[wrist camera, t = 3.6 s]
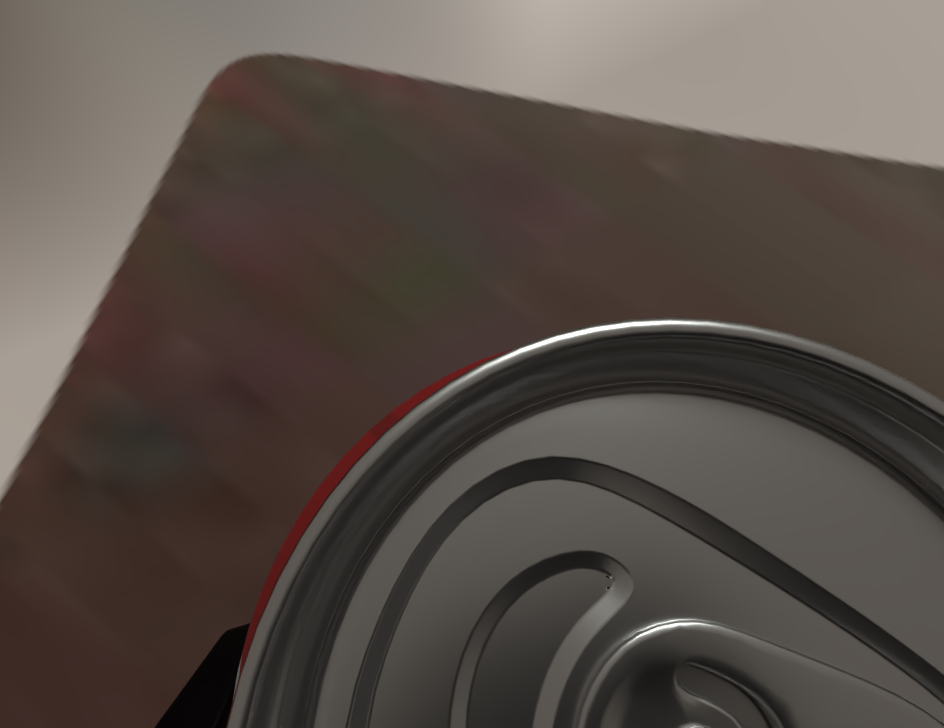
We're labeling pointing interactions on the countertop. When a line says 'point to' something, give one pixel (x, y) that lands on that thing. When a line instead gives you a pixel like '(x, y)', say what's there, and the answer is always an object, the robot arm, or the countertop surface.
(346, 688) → the soda can
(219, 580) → the countertop surface
